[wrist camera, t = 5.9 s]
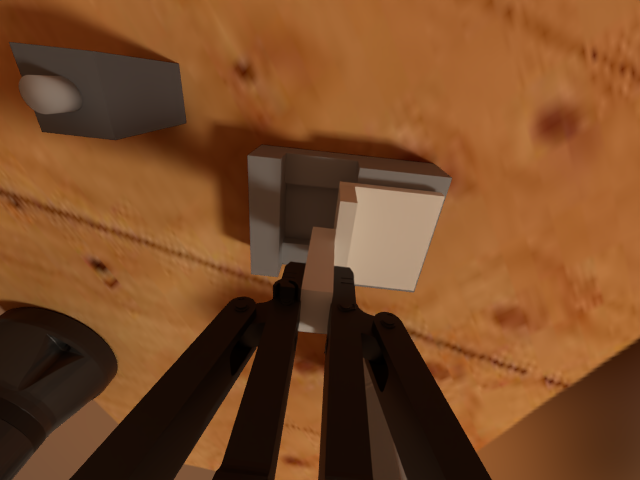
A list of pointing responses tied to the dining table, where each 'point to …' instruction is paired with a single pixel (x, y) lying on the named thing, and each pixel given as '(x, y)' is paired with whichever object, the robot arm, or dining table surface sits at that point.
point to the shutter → (384, 232)
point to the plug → (98, 91)
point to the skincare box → (381, 438)
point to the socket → (315, 197)
